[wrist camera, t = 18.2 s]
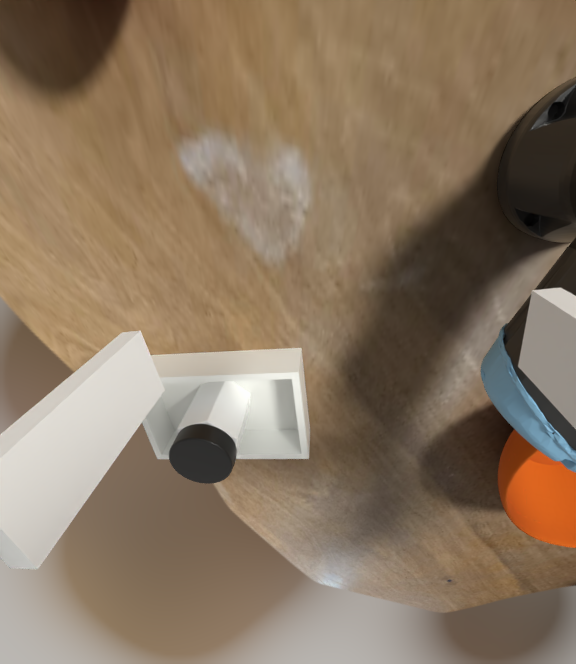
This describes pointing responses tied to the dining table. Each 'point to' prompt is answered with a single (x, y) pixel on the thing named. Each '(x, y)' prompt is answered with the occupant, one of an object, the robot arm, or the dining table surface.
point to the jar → (211, 432)
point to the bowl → (537, 492)
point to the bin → (254, 376)
